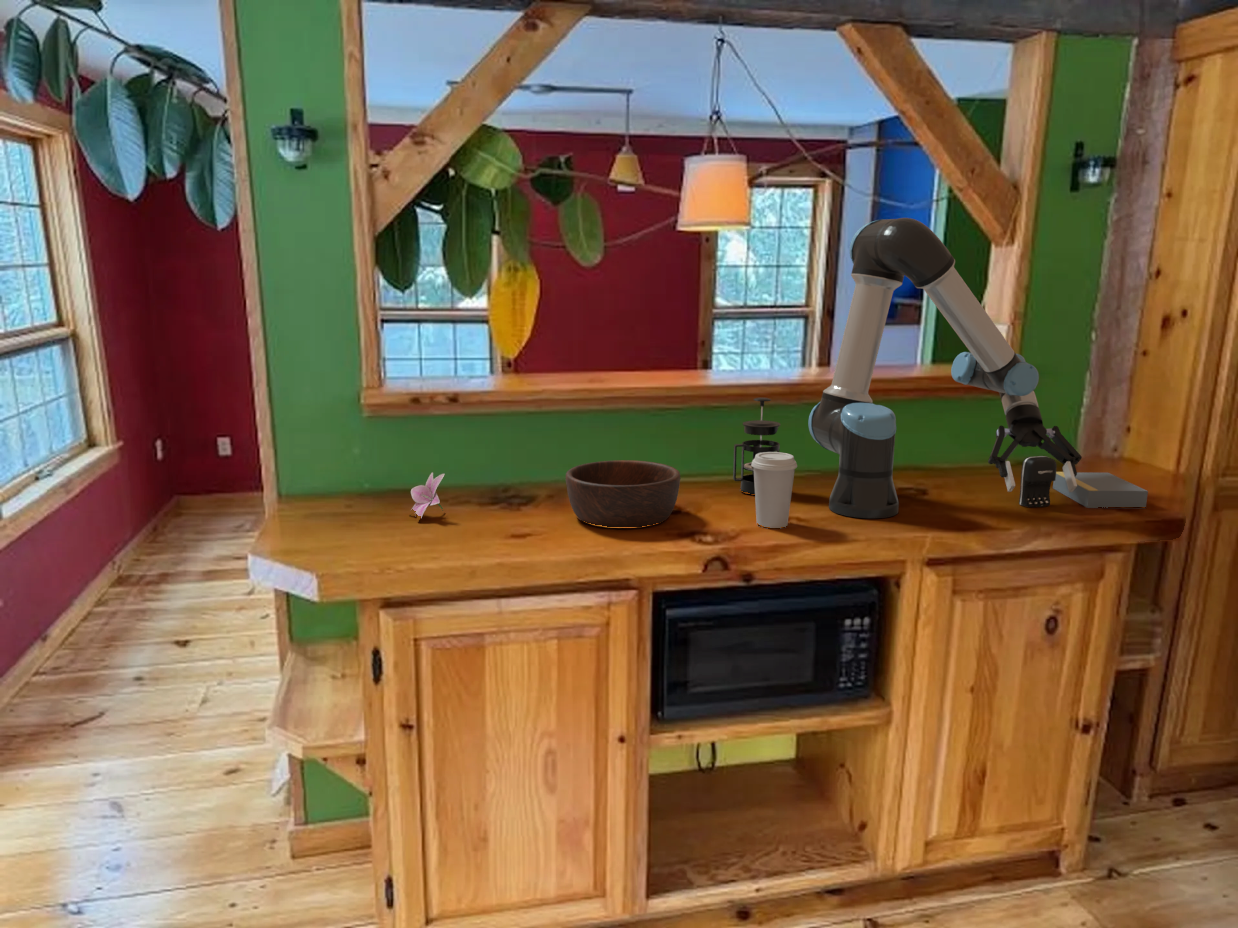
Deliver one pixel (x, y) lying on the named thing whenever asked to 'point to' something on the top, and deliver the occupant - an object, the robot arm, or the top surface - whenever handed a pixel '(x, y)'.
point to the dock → (1102, 490)
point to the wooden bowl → (623, 492)
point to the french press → (755, 446)
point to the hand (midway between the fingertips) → (1042, 489)
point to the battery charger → (1036, 481)
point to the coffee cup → (773, 487)
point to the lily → (426, 494)
